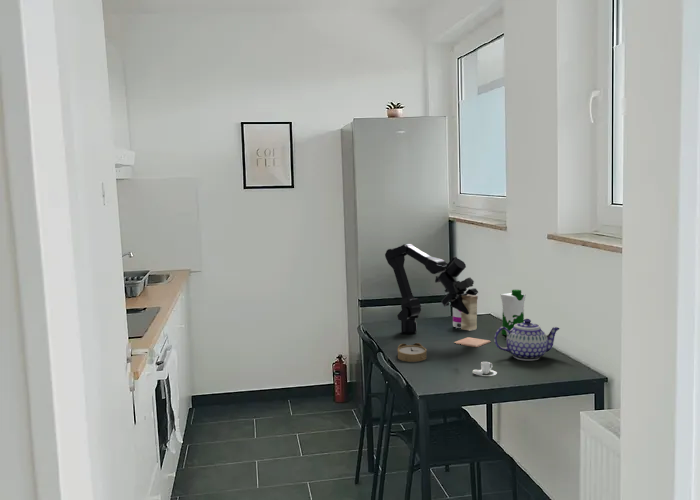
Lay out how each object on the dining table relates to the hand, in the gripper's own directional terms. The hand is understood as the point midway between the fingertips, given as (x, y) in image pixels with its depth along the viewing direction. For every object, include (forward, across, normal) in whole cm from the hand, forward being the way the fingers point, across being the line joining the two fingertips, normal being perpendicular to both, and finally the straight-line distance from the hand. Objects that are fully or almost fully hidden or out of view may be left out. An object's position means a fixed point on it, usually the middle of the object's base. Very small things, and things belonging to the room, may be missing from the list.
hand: (471, 312), depth 275 cm
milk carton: (+12, +26, +8) cm, 30 cm away
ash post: (+4, 0, +6) cm, 7 cm away
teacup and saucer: (+27, -31, -8) cm, 42 cm away
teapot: (+29, -3, -10) cm, 31 cm away
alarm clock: (+5, -31, +14) cm, 34 cm away
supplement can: (-7, +24, +26) cm, 36 cm away
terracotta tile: (+8, +3, +11) cm, 14 cm away
